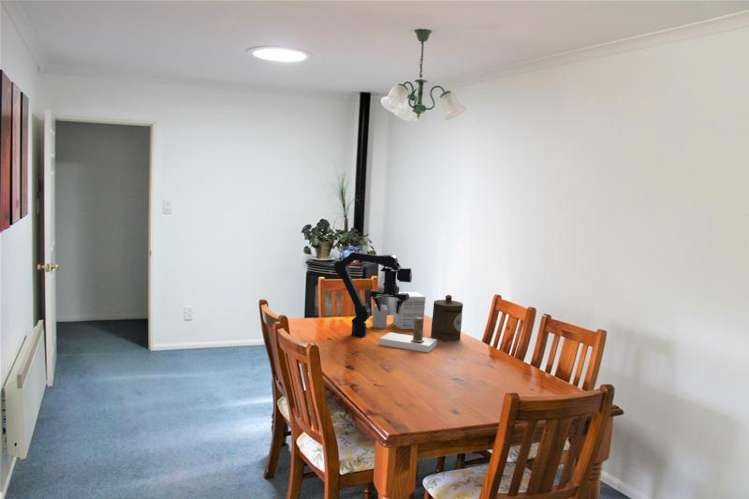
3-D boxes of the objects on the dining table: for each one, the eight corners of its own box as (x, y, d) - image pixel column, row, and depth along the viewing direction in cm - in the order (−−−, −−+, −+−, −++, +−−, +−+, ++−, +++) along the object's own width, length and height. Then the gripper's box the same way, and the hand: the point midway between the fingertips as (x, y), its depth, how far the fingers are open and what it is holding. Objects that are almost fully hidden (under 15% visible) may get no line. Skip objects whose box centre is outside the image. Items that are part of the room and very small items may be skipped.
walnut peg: (412, 348, 300) (414, 319, 298) (411, 346, 304) (413, 316, 303) (422, 349, 300) (424, 319, 298) (421, 346, 305) (423, 317, 303)
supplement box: (392, 323, 350) (394, 291, 348) (414, 323, 354) (417, 291, 352) (400, 329, 337) (402, 296, 335) (423, 329, 341) (426, 296, 339)
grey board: (379, 344, 303) (379, 338, 303) (389, 338, 316) (389, 332, 316) (428, 352, 295) (429, 345, 295) (436, 345, 308) (436, 339, 308)
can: (386, 326, 342) (388, 304, 340) (385, 329, 334) (387, 306, 333) (372, 325, 342) (374, 303, 341) (371, 328, 335) (372, 305, 333)
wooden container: (461, 342, 317) (465, 298, 315) (431, 340, 317) (434, 296, 315) (458, 335, 332) (461, 293, 329) (429, 333, 332) (432, 291, 329)
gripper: (413, 280, 317) (411, 311, 318) (378, 277, 323) (376, 307, 325) (406, 283, 306) (404, 315, 308) (369, 279, 313) (368, 311, 315)
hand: (388, 312), depth 314 cm, fingers open, 9 cm apart
